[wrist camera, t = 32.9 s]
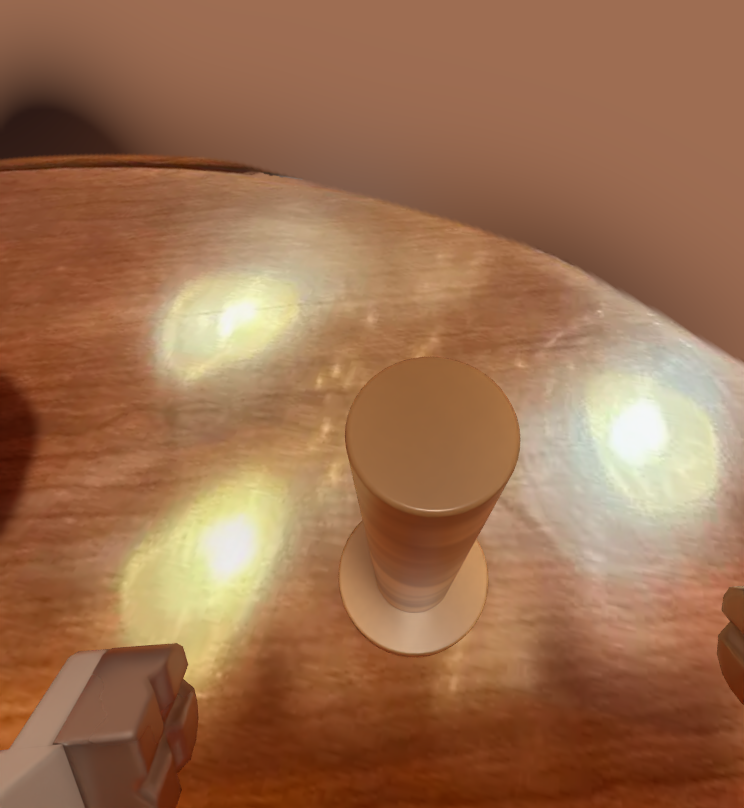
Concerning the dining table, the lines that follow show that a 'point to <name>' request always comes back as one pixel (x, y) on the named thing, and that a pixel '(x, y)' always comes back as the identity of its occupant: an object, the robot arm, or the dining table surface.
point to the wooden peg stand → (424, 501)
